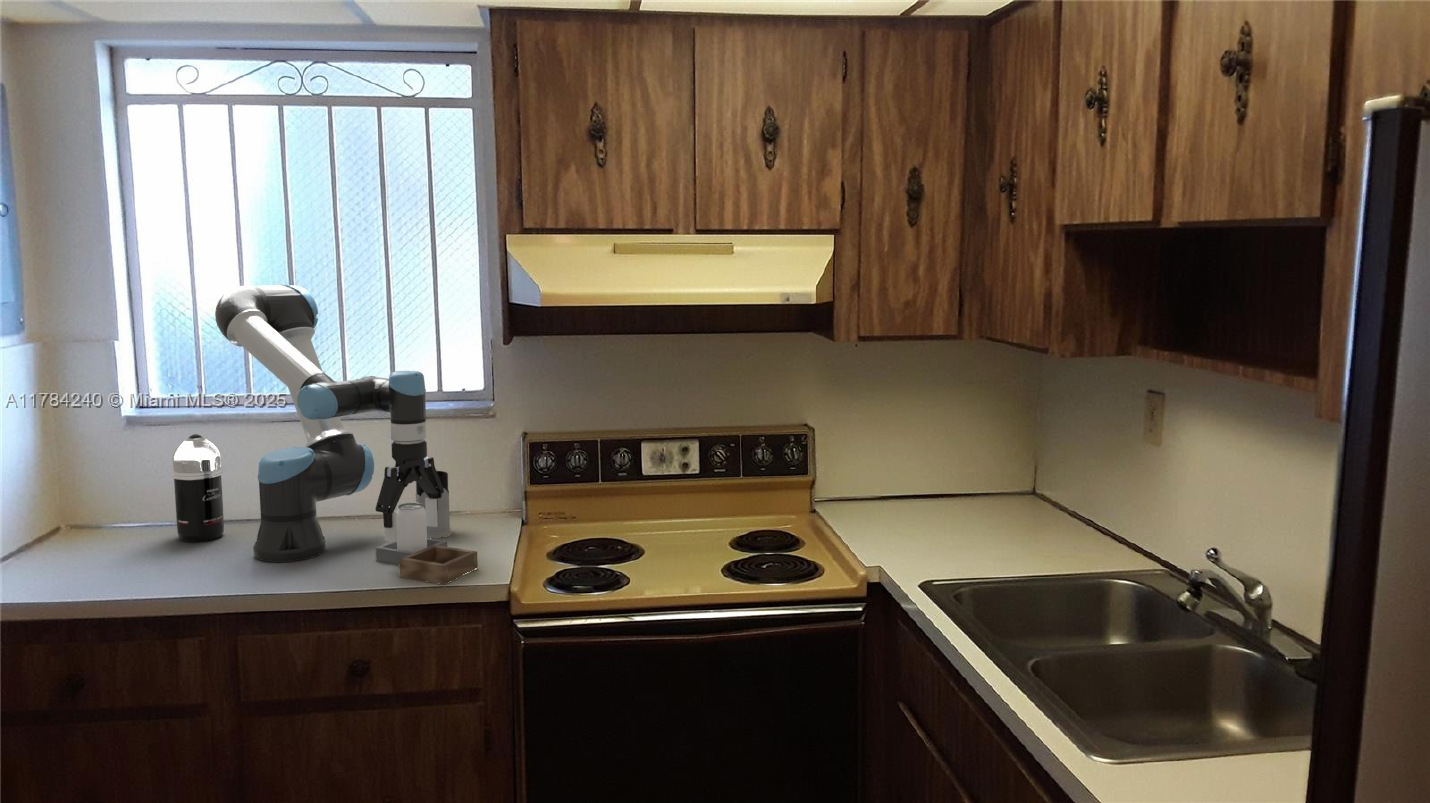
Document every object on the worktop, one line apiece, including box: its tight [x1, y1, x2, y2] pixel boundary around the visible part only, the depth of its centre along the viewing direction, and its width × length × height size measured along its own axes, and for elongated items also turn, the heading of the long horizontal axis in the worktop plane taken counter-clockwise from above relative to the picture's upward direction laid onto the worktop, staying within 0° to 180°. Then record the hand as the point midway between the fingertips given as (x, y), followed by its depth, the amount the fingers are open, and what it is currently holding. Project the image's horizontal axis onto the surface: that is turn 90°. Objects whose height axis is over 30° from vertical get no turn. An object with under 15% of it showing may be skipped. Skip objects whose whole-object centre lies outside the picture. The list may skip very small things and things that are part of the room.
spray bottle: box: [172, 433, 225, 543], centre depth 234 cm, size 10×10×25 cm
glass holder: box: [415, 470, 453, 539], centre depth 243 cm, size 9×14×15 cm, turn 29°
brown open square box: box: [398, 545, 479, 585], centre depth 212 cm, size 12×12×4 cm
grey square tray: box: [375, 538, 449, 565], centre depth 223 cm, size 11×11×3 cm
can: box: [396, 502, 427, 552], centre depth 222 cm, size 6×6×12 cm
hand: (412, 533), depth 222 cm, fingers open, 13 cm apart
